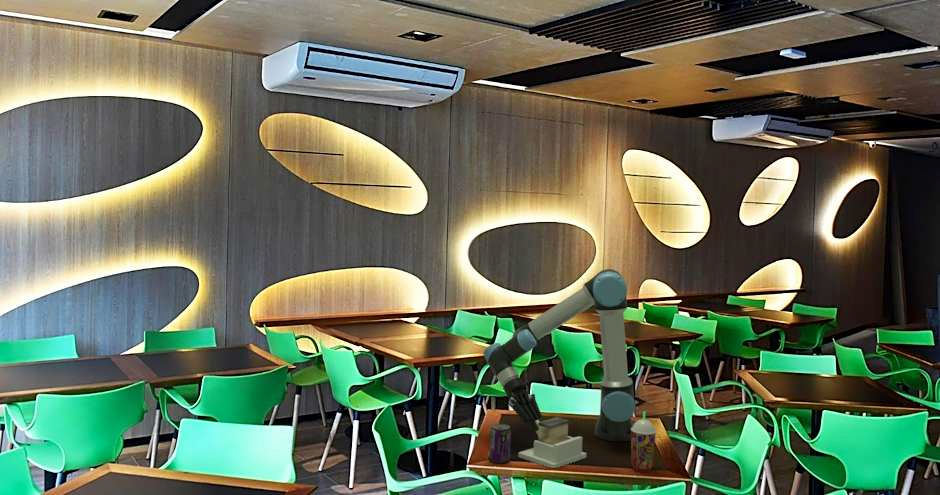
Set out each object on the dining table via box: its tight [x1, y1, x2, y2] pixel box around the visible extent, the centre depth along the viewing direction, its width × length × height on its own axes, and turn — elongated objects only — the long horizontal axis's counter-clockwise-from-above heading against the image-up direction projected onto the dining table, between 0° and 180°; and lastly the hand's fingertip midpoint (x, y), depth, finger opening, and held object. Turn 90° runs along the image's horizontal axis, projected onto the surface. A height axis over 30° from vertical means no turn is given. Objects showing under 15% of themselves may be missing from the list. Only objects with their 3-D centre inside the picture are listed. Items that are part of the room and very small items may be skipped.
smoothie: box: [630, 410, 657, 473], centre depth 268 cm, size 8×8×20 cm
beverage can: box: [489, 423, 512, 464], centre depth 273 cm, size 7×7×12 cm
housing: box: [517, 435, 588, 469], centre depth 278 cm, size 16×18×8 cm
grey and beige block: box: [537, 416, 570, 446], centre depth 278 cm, size 5×10×11 cm, turn 135°
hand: (544, 437), depth 280 cm, fingers closed
